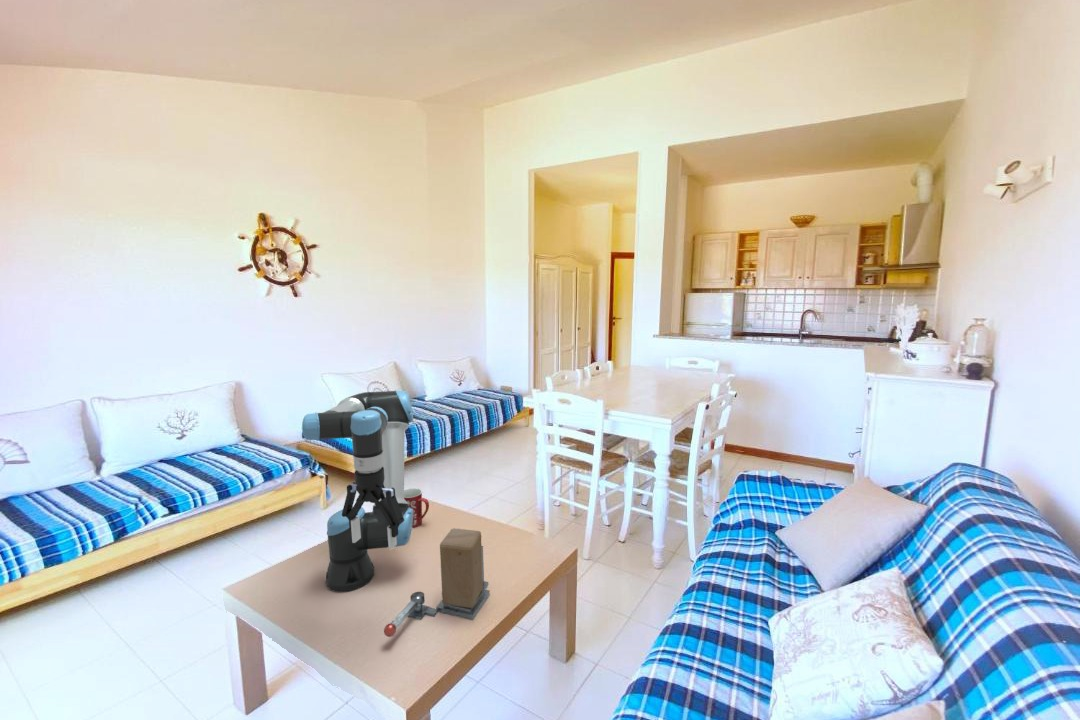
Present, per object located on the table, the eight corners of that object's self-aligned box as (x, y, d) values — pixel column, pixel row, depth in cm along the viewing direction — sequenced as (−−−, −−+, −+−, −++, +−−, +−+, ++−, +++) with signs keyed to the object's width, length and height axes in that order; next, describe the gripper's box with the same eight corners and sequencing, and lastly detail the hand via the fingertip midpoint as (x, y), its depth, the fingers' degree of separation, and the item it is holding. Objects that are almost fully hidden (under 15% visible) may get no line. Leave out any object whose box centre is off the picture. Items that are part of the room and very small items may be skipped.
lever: (380, 637, 129) (379, 627, 128) (415, 598, 145) (415, 588, 144) (393, 641, 127) (392, 630, 127) (427, 600, 143) (426, 591, 143)
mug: (396, 526, 194) (394, 494, 192) (411, 516, 202) (409, 486, 200) (421, 532, 188) (419, 500, 186) (435, 522, 196) (434, 491, 194)
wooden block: (473, 609, 141) (470, 547, 138) (441, 605, 143) (438, 543, 140) (483, 588, 150) (482, 529, 147) (453, 585, 152) (451, 526, 149)
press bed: (406, 616, 141) (403, 573, 139) (442, 575, 161) (440, 536, 159) (465, 630, 135) (464, 585, 133) (495, 586, 155) (494, 546, 153)
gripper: (323, 468, 129) (330, 543, 132) (398, 478, 122) (403, 558, 125) (342, 459, 136) (348, 530, 139) (414, 468, 129) (418, 543, 132)
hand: (374, 543), depth 132 cm, fingers open, 11 cm apart
